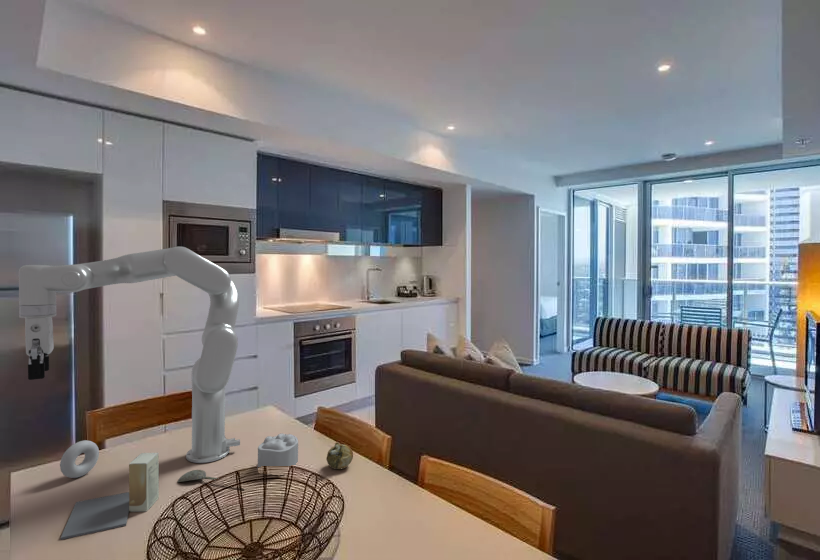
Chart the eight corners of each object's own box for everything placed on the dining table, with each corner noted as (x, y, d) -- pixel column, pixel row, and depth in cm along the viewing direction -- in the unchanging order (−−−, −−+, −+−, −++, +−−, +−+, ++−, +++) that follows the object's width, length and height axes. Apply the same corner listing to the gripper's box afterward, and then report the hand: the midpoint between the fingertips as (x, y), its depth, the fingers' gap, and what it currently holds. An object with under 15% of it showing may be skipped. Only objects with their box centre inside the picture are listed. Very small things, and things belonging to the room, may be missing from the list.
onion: (355, 470, 129) (355, 444, 129) (328, 474, 127) (329, 447, 126) (350, 460, 136) (350, 435, 136) (324, 463, 134) (325, 438, 134)
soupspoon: (190, 475, 127) (172, 487, 120) (189, 464, 127) (171, 475, 120) (254, 485, 120) (238, 498, 114) (253, 473, 120) (237, 486, 114)
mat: (132, 493, 114) (132, 491, 114) (126, 525, 100) (126, 523, 100) (76, 503, 108) (76, 502, 108) (60, 539, 94) (60, 537, 94)
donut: (65, 485, 117) (65, 449, 117) (56, 483, 118) (56, 447, 118) (102, 469, 127) (102, 435, 126) (93, 467, 128) (93, 434, 128)
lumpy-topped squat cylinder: (252, 473, 127) (253, 444, 126) (274, 454, 139) (275, 428, 139) (285, 477, 125) (285, 447, 124) (305, 458, 137) (305, 431, 137)
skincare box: (141, 498, 111) (141, 452, 111) (159, 498, 112) (159, 451, 112) (127, 512, 105) (127, 463, 105) (146, 512, 105) (146, 463, 105)
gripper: (52, 313, 110) (53, 380, 111) (59, 307, 124) (60, 366, 125) (13, 315, 106) (14, 384, 106) (24, 309, 120) (25, 370, 121)
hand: (39, 374), depth 116 cm, fingers open, 9 cm apart
